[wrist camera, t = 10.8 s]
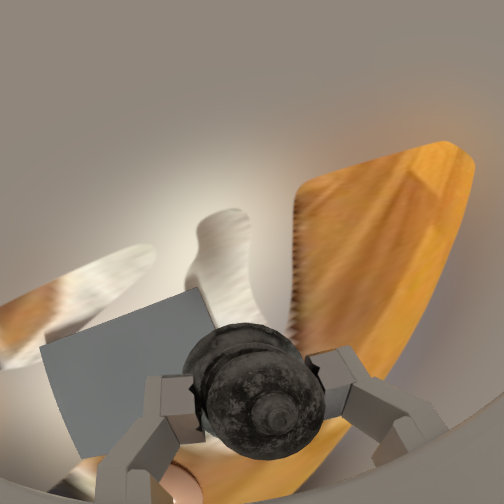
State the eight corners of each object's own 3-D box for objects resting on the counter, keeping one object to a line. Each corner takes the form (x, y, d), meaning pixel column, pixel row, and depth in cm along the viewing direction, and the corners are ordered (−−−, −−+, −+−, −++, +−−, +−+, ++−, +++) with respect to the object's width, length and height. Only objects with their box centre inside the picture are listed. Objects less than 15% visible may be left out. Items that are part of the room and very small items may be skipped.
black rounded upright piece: (222, 311, 17) (224, 212, 6) (308, 360, 16) (451, 345, 5) (170, 394, 15) (72, 453, 4) (259, 443, 14) (326, 564, 3)
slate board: (87, 455, 20) (81, 458, 19) (46, 347, 24) (39, 346, 22) (250, 406, 24) (251, 409, 23) (198, 290, 28) (197, 286, 26)
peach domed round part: (149, 525, 18) (147, 529, 18) (112, 467, 21) (109, 470, 20) (217, 511, 20) (217, 515, 19) (181, 451, 22) (179, 454, 22)
